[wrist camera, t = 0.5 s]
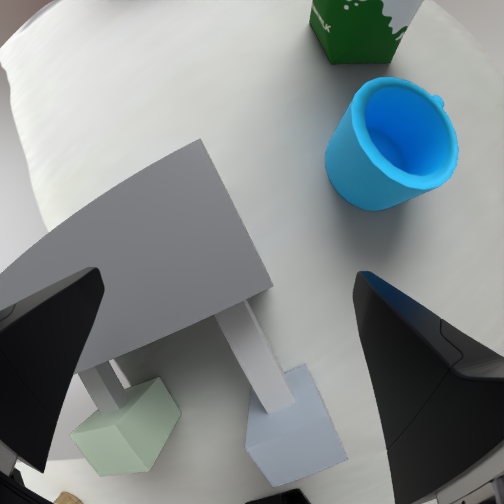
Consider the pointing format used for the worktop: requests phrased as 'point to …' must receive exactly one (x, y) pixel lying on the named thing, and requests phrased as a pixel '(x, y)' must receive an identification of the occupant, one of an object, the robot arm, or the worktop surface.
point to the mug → (391, 145)
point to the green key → (124, 423)
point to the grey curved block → (149, 255)
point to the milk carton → (361, 28)
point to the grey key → (280, 406)
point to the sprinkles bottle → (67, 499)
